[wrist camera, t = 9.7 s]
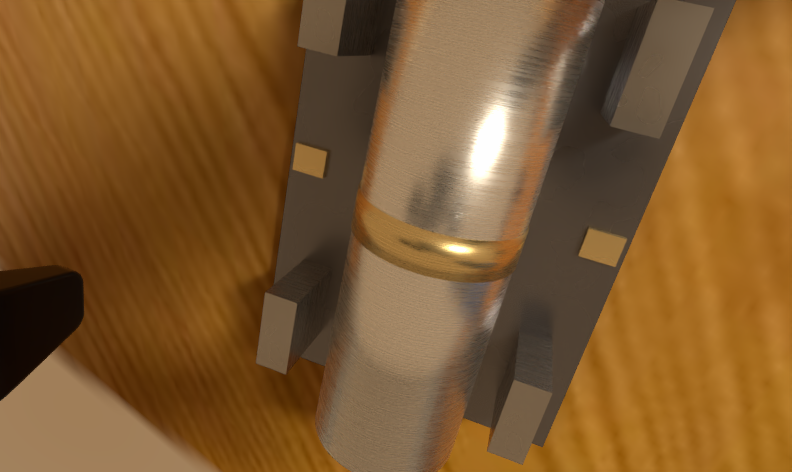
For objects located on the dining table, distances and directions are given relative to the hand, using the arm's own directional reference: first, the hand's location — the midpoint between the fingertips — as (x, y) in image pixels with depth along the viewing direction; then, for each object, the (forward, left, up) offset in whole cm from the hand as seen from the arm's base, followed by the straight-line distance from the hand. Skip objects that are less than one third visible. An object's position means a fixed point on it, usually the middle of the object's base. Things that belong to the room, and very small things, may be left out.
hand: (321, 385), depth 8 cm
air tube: (0, 0, -11) cm, 11 cm away
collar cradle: (0, 0, -11) cm, 11 cm away
